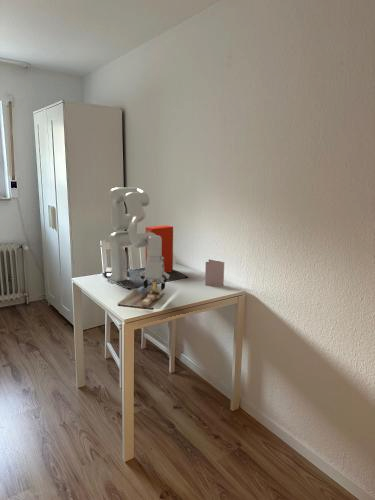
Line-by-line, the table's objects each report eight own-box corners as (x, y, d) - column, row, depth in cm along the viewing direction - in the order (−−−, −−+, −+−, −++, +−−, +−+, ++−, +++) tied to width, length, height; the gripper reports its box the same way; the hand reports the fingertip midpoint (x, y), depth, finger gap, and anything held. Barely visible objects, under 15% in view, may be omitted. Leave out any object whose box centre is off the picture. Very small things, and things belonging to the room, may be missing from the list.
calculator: (127, 271, 238) (104, 271, 235) (127, 277, 238) (104, 277, 236) (127, 267, 248) (105, 266, 246) (127, 273, 249) (105, 272, 246)
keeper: (137, 297, 195) (137, 289, 194) (142, 292, 202) (142, 285, 201) (140, 297, 194) (140, 290, 194) (145, 293, 201) (145, 286, 200)
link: (151, 293, 199) (151, 290, 199) (162, 294, 198) (162, 291, 197) (138, 305, 182) (138, 301, 182) (150, 306, 181) (150, 302, 180)
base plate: (117, 306, 186) (117, 303, 185) (134, 292, 206) (134, 290, 206) (152, 310, 181) (152, 307, 181) (165, 295, 202) (165, 293, 201)
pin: (153, 295, 197) (153, 280, 195) (157, 296, 197) (157, 280, 195) (151, 297, 195) (151, 281, 193) (156, 297, 194) (156, 282, 192)
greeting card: (224, 285, 222) (225, 261, 219) (217, 288, 217) (218, 264, 213) (208, 281, 229) (209, 259, 226) (202, 284, 223) (202, 261, 220)
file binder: (172, 271, 251) (173, 226, 244) (151, 275, 240) (151, 228, 233) (166, 269, 257) (166, 225, 250) (145, 272, 247) (145, 227, 240)
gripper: (171, 258, 193) (171, 288, 197) (141, 255, 197) (142, 284, 201) (167, 261, 186) (167, 292, 189) (136, 258, 190) (136, 288, 194)
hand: (154, 288), depth 195 cm, fingers open, 9 cm apart
